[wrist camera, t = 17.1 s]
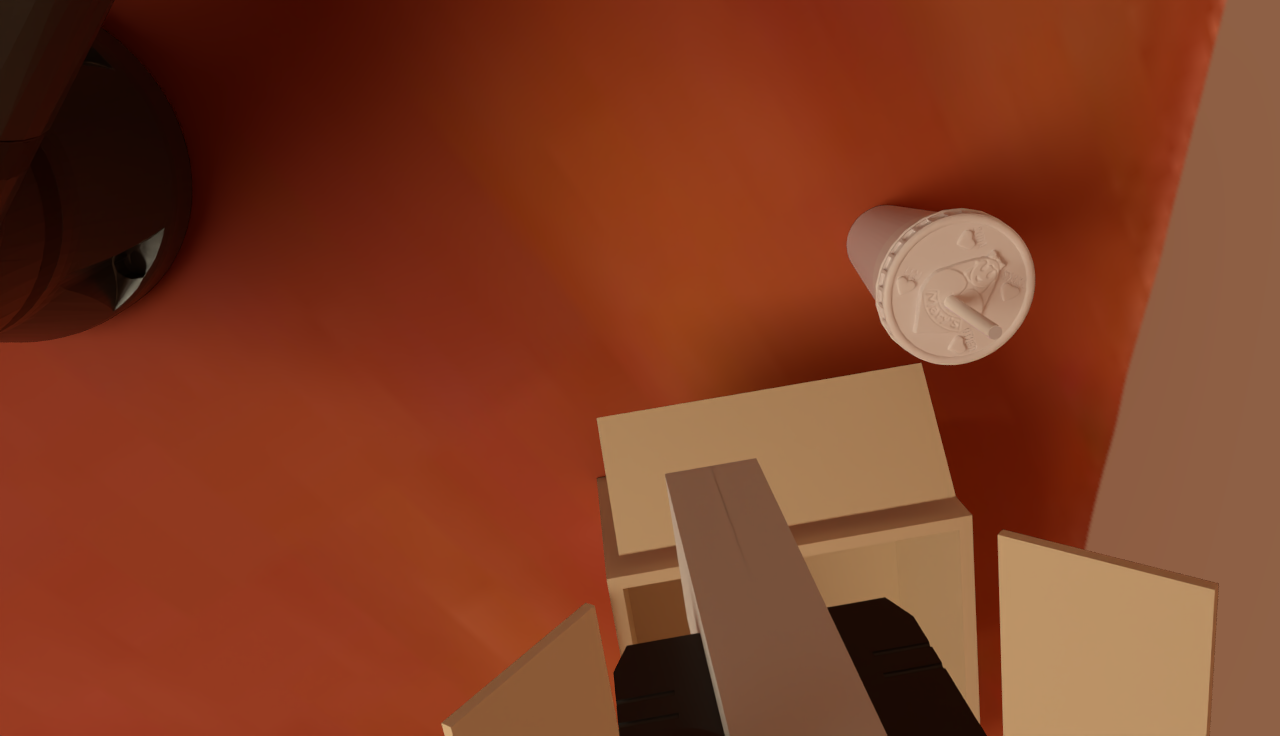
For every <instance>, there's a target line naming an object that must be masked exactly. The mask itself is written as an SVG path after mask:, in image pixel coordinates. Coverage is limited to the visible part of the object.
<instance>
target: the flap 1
mask: <svg viewBox="0 0 1280 736" xmlns="http://www.w3.org/2000/svg"><path fill="white" fill-rule="evenodd" d="M442 727H443V731H444V735H445V736H619V730H618V725H617V720H616V714H615V709H614V704H613V699H612V694H611V688H610V683H609V678H608V673H607V668H606V662H605V657H604V652H603V647H602V642H601V636H600V631H599V626H598V621H597V616H596V610H595V606H594V605H591V604H587V603H585V604H584V605H582V606H581V607H580V608H579V609H578V610H576V611H575V612H574V613H573V614H572V615H570V616H569V617H568V618H567V619H566V620H564V621H563V622H562V623H561V624H560V625H558V626H557V627H556V628H555V629H554V630H552V631H551V632H550V633H549V634H548V635H546V636H545V637H544V638H543V639H542V640H540V641H539V642H538V643H537V644H536V645H534V646H533V647H532V648H531V649H530V650H528V651H527V652H526V653H525V654H524V655H522V656H521V657H520V658H519V659H518V660H516V661H515V662H514V663H513V664H512V665H510V666H509V667H508V668H507V669H506V670H504V671H503V672H502V673H501V674H500V675H498V676H497V677H496V678H495V679H494V680H492V681H491V682H490V683H489V684H488V685H486V686H485V687H484V688H483V689H482V690H480V691H479V692H478V693H477V694H476V695H474V696H473V697H472V698H471V699H470V700H468V701H467V702H466V703H465V704H464V705H462V706H461V707H460V708H459V709H458V710H456V711H455V712H454V713H453V714H452V715H450V716H449V717H448V718H447V719H446V720H444V721H443V722H442Z"/></svg>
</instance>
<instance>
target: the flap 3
mask: <svg viewBox="0 0 1280 736" xmlns="http://www.w3.org/2000/svg"><path fill="white" fill-rule="evenodd" d="M998 566H999V601H1000V637H1001V672H1002V708H1003V736H1210V722H1211V704H1212V688H1213V671H1214V655H1215V638H1216V637H1215V636H1216V621H1217V605H1218V588H1219V587H1218V586H1219V584H1218V583H1215V582H1211V581H1207V580H1203V579H1199V578H1195V577H1191V576H1187V575H1183V574H1179V573H1175V572H1171V571H1167V570H1163V569H1159V568H1155V567H1151V566H1147V565H1143V564H1139V563H1135V562H1131V561H1127V560H1123V559H1119V558H1115V557H1111V556H1107V555H1103V554H1099V553H1095V552H1091V551H1087V550H1083V549H1079V548H1075V547H1071V546H1067V545H1063V544H1059V543H1055V542H1051V541H1047V540H1043V539H1039V538H1035V537H1031V536H1027V535H1023V534H1019V533H1015V532H1011V531H1007V530H1002V531H1001V532H1000V533H999V534H998Z"/></svg>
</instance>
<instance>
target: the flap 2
mask: <svg viewBox="0 0 1280 736" xmlns="http://www.w3.org/2000/svg"><path fill="white" fill-rule="evenodd" d="M597 423H598V430H599V436H600V442H601V448H602V454H603V460H604V466H605V473H606V479H607V485H608V491H609V497H610V503H611V509H612V516H613V522H614V528H615V534H616V540H617V546H618V552H619V556H621V555H626V554H632V553H638V552H644V551H649V550H655V549H661V548H666V547H672V546H676V543H675V537H674V530H673V524H672V518H671V511H670V505H669V498H668V492H667V485H666V479H665V474H667V473H672V472H678V471H684V470H690V469H696V468H701V467H707V466H713V465H719V464H725V463H730V462H736V461H742V460H748V459H754V458H756V459H757V461H758V463H759V465H760V467H761V469H762V471H763V473H764V475H765V478H766V480H767V482H768V484H769V486H770V488H771V490H772V492H773V495H774V497H775V499H776V501H777V503H778V505H779V507H780V509H781V511H782V514H783V516H784V518H785V520H786V522H787V524H788V526H792V525H798V524H804V523H809V522H815V521H821V520H827V519H832V518H838V517H844V516H849V515H855V514H861V513H867V512H872V511H878V510H884V509H889V508H895V507H901V506H907V505H912V504H918V503H924V502H929V501H935V500H941V499H947V498H952V497H954V496H956V495H955V491H954V487H953V483H952V479H951V476H950V472H949V468H948V464H947V460H946V456H945V452H944V448H943V445H942V441H941V437H940V433H939V429H938V425H937V421H936V418H935V414H934V410H933V406H932V402H931V398H930V394H929V390H928V387H927V383H926V379H925V375H924V371H923V367H922V363H917V364H911V365H906V366H900V367H894V368H888V369H882V370H876V371H870V372H865V373H859V374H853V375H847V376H841V377H835V378H829V379H824V380H818V381H812V382H806V383H800V384H794V385H788V386H782V387H777V388H771V389H765V390H759V391H753V392H747V393H741V394H736V395H730V396H724V397H718V398H712V399H706V400H700V401H695V402H689V403H683V404H677V405H671V406H665V407H659V408H654V409H648V410H642V411H636V412H630V413H624V414H618V415H612V416H607V417H601V418H597Z"/></svg>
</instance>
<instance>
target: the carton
mask: <svg viewBox="0 0 1280 736" xmlns="http://www.w3.org/2000/svg"><path fill="white" fill-rule="evenodd" d="M597 484H598V494H599V505H600V515H601V526H602V536H603V547H604V557H605V568H606V578H607V584H608V589H609V595H610V600H611V606H612V611H613V616H614V622H615V627H616V633H617V638H618V643H619V649H620V654H621V656H622V654H623V652H624V650H625V648H626V646H628V645H633V644H639V643H645V642H650V641H656V640H661V639H667V638H673V637H678V636H684V635H690V634H691V633H690V628H689V624H688V620H687V614H686V608H685V601H684V595H683V588H682V582H681V575H680V569H679V563H678V556H677V550H676V546H672V547H666V548H661V549H655V550H649V551H644V552H638V553H632V554H626V555H621V556H619V552H618V546H617V540H616V534H615V528H614V522H613V516H612V509H611V503H610V497H609V491H608V485H607V479H606V477H600V478H597ZM789 528H790V531H791V533H792V535H793V537H794V539H795V541H796V543H797V545H798V547H799V550H800V552H801V554H802V556H803V558H804V560H805V562H806V564H807V567H808V569H809V571H810V573H811V575H812V577H813V579H814V581H815V583H816V586H817V588H818V590H819V592H820V594H821V596H822V598H823V600H824V602H825V605H826V607H832V606H838V605H844V604H849V603H855V602H861V601H866V600H872V599H878V598H883V597H886V598H887V599H889V600H890V601H892V602H893V603H895V604H896V605H897V606H899V607H900V608H902V609H903V610H905V611H906V612H908V613H909V614H911V615H912V616H914V618H915V619H916V621H917V623H918V624H919V626H920V628H921V629H922V631H923V632H924V634H925V636H926V637H927V639H928V641H929V644H930V647H933V649H934V650H935V652H936V654H937V655H938V657H939V659H940V660H941V662H942V666H943V668H946V670H947V672H948V673H949V675H950V676H951V678H952V680H953V681H954V683H955V685H956V686H957V688H958V690H959V691H960V693H961V694H962V696H963V698H964V699H965V701H966V703H967V704H968V706H969V707H970V709H971V711H972V712H973V714H974V716H975V717H976V719H977V721H978V722H979V724H980V709H979V682H978V656H977V630H976V603H975V577H974V551H973V524H972V514H971V513H970V512H969V511H968V510H967V509H966V507H965V506H964V505H963V504H962V503H961V502H960V500H959V499H958V498H957V497H956V496H954V497H952V498H947V499H941V500H935V501H929V502H924V503H918V504H912V505H907V506H901V507H895V508H889V509H884V510H878V511H872V512H867V513H861V514H855V515H849V516H844V517H838V518H832V519H827V520H821V521H815V522H809V523H804V524H798V525H792V526H789Z"/></svg>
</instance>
